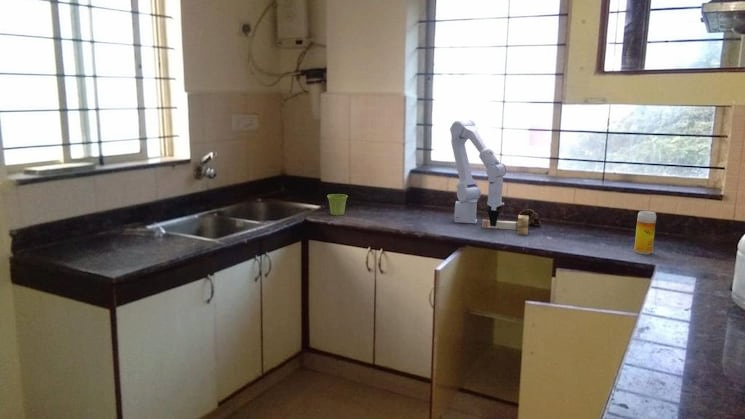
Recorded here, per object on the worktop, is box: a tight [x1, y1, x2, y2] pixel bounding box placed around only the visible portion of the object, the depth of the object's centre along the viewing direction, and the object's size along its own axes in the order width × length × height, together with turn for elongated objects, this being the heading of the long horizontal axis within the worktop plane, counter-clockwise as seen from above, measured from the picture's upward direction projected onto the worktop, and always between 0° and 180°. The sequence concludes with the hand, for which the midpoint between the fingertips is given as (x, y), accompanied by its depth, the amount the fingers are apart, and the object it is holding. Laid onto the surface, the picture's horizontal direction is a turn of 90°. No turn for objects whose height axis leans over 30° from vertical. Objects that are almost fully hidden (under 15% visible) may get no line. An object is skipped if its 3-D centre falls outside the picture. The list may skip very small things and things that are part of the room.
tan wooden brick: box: [516, 215, 529, 236], centre depth 246 cm, size 4×7×6 cm, turn 166°
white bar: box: [481, 219, 518, 231], centre depth 255 cm, size 15×3×3 cm, turn 77°
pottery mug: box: [517, 208, 542, 227], centre depth 260 cm, size 12×10×8 cm
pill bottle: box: [633, 210, 657, 255], centre depth 217 cm, size 6×6×15 cm
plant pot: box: [326, 193, 349, 216], centre depth 276 cm, size 9×9×9 cm
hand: (493, 224), depth 255 cm, fingers open, 7 cm apart
